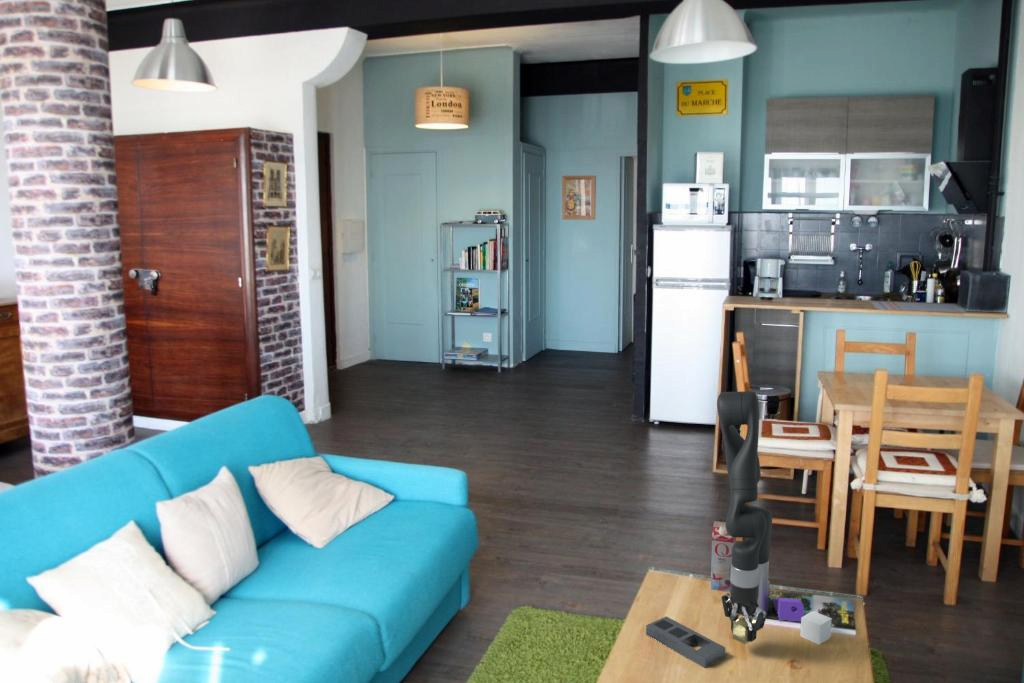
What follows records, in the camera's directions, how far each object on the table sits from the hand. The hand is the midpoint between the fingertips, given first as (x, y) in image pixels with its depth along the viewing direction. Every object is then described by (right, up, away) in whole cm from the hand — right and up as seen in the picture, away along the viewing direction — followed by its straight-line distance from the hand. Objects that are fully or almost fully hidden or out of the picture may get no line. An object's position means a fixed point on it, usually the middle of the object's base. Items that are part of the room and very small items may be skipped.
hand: (743, 636), depth 235 cm
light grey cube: (+23, -3, +8) cm, 25 cm away
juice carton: (+4, +2, +40) cm, 40 cm away
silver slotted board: (-15, -4, +5) cm, 17 cm away
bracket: (+20, -1, +23) cm, 30 cm away
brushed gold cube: (0, -1, 0) cm, 1 cm away
